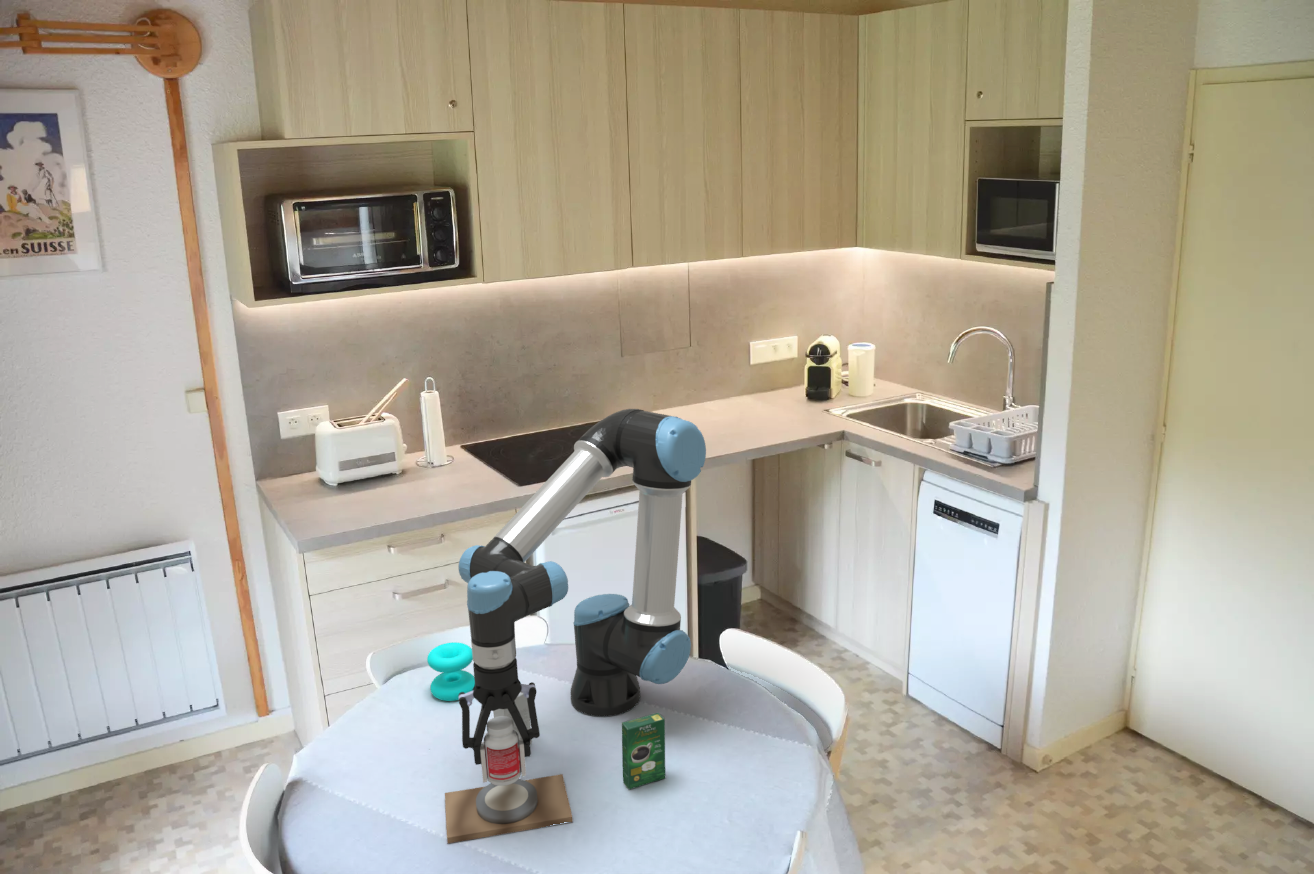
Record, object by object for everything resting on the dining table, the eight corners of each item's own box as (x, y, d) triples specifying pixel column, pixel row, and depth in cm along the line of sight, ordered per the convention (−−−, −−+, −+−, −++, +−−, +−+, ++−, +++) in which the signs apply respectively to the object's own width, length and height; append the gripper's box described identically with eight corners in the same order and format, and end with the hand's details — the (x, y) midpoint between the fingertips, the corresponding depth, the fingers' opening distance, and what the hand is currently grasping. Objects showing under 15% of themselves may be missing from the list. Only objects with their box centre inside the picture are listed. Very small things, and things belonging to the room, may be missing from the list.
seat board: (562, 779, 197) (561, 766, 196) (572, 822, 184) (571, 808, 184) (445, 798, 192) (443, 785, 191) (447, 843, 180) (445, 829, 179)
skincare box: (519, 736, 211) (515, 684, 208) (532, 744, 208) (528, 691, 205) (495, 748, 207) (490, 696, 204) (508, 757, 204) (503, 703, 201)
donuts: (432, 640, 231) (476, 639, 231) (436, 680, 234) (480, 679, 233) (422, 662, 221) (468, 661, 221) (426, 704, 224) (472, 703, 224)
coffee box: (660, 770, 198) (658, 710, 195) (667, 778, 196) (665, 717, 192) (622, 782, 195) (619, 721, 191) (628, 791, 193) (625, 729, 189)
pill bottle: (527, 779, 185) (523, 725, 182) (496, 791, 182) (491, 736, 179) (512, 762, 190) (508, 709, 187) (481, 774, 187) (476, 720, 184)
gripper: (439, 677, 174) (450, 795, 181) (552, 662, 178) (559, 778, 184) (438, 656, 181) (449, 770, 188) (547, 642, 185) (554, 754, 191)
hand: (504, 774), depth 186 cm, fingers closed on pill bottle, 6 cm apart
